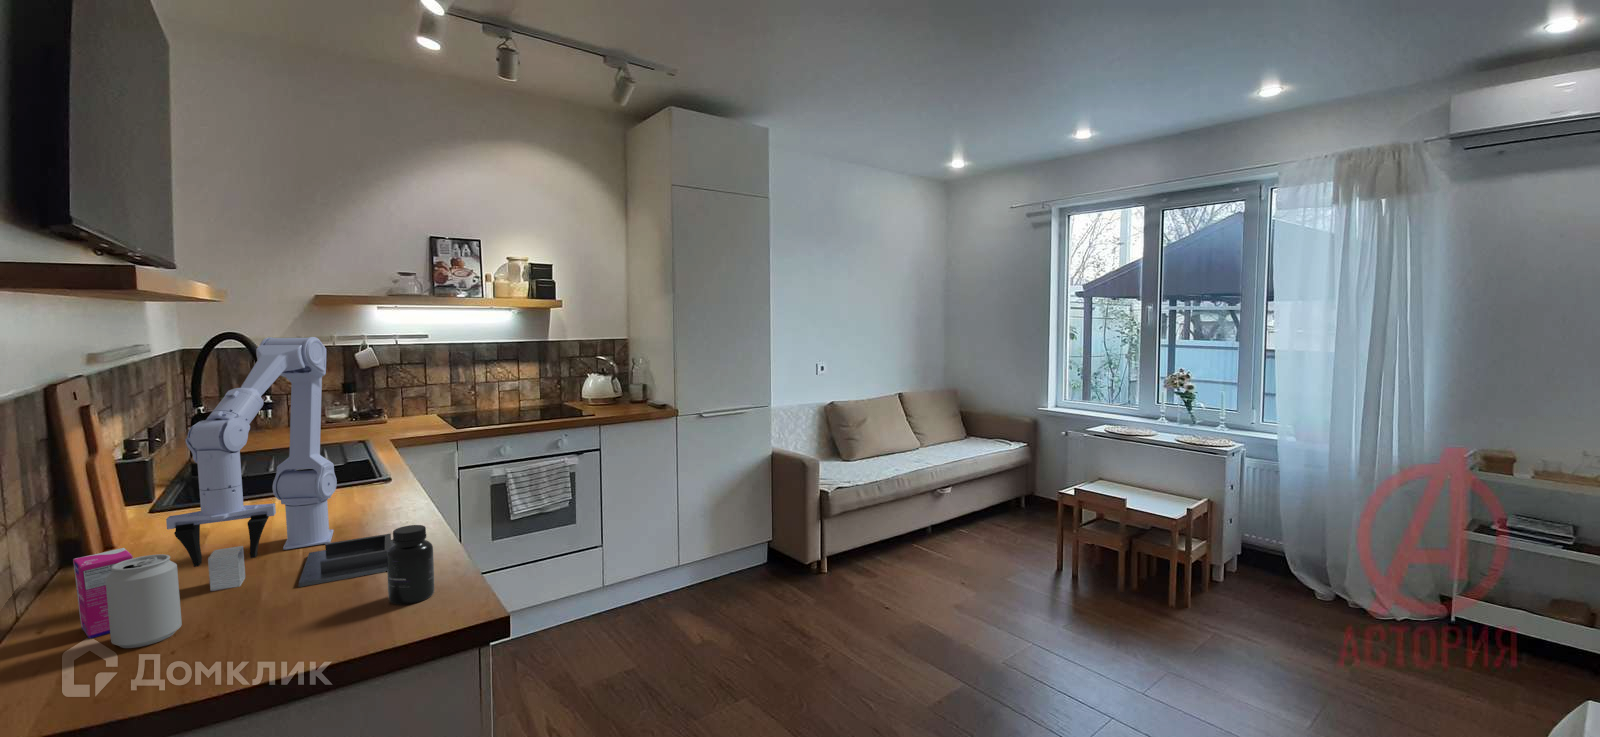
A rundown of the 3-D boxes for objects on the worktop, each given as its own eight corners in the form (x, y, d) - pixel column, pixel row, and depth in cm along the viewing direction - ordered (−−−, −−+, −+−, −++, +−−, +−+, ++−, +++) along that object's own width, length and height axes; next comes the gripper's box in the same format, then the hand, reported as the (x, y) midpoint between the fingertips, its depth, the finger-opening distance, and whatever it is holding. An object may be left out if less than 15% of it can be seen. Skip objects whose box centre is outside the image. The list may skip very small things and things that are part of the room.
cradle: (309, 556, 131) (308, 542, 130) (402, 541, 139) (401, 527, 139) (298, 587, 115) (297, 570, 115) (403, 568, 124) (403, 553, 124)
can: (102, 643, 96) (95, 564, 95) (170, 622, 102) (163, 548, 101) (123, 655, 92) (115, 573, 91) (191, 633, 99) (185, 556, 98)
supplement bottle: (386, 609, 106) (382, 538, 106) (390, 593, 112) (386, 526, 112) (434, 600, 110) (431, 531, 109) (436, 586, 116) (432, 520, 115)
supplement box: (79, 630, 100) (72, 557, 99) (133, 615, 105) (127, 546, 104) (86, 640, 97) (79, 565, 96) (141, 625, 101) (135, 553, 101)
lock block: (217, 582, 118) (214, 550, 118) (245, 577, 120) (243, 545, 120) (210, 591, 114) (207, 558, 114) (240, 586, 116) (237, 553, 116)
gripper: (158, 497, 109) (164, 576, 110) (269, 485, 116) (274, 559, 117) (170, 488, 115) (176, 563, 116) (275, 477, 122) (279, 548, 123)
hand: (226, 560), depth 117 cm, fingers open, 7 cm apart
